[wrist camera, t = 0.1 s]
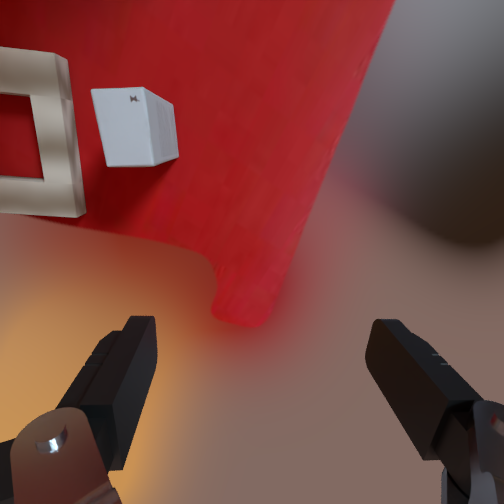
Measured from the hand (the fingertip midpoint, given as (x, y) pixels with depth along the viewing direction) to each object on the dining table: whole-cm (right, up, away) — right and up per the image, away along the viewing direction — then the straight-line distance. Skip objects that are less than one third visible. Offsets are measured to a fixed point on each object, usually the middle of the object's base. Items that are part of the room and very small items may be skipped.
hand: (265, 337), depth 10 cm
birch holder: (-29, +17, +23) cm, 40 cm away
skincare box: (-12, +18, +24) cm, 32 cm away
